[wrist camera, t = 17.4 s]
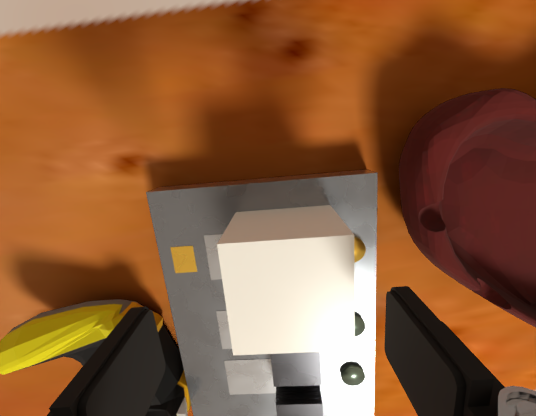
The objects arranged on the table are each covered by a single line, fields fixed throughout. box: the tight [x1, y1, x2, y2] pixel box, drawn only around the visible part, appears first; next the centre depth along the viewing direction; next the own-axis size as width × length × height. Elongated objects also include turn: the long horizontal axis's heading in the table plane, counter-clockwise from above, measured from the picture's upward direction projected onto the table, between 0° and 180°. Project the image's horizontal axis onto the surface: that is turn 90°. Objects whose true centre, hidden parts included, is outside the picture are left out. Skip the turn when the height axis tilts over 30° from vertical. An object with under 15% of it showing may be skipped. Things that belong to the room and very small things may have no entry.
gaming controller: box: [0, 299, 191, 416], centre depth 21 cm, size 15×6×10 cm
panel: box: [146, 169, 377, 416], centre depth 19 cm, size 25×15×6 cm, turn 5°
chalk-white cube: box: [217, 205, 355, 355], centre depth 15 cm, size 6×6×6 cm
